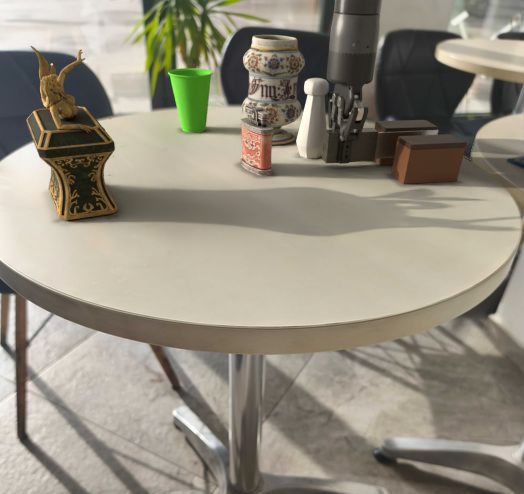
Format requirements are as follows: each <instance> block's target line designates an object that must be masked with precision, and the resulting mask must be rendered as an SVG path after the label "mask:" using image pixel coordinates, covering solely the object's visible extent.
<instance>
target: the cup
mask: <svg viewBox="0 0 524 494" xmlns="http://www.w3.org/2000/svg"><path fill="white" fill-rule="evenodd" d="M167 74H168V76H169V77H170V83H171V88H172V92H173V96H174V100H175V104H176V110H177V115H178V119H179V123H180V128H181V129H182V131H183V132H185V133H195V134H196V133H202V132H204V131H206V128H207V120H208V119H207V118H208V109H209V100H210V89H211V79H212V75H214V73H213V71H212V70H211V69H206V68H197V67H181V68H174V69H170V70H169V71H168V72H167Z"/></svg>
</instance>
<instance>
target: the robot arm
mask: <svg viewBox="0 0 524 494" xmlns="http://www.w3.org/2000/svg"><path fill="white" fill-rule="evenodd" d="M382 3H383V0H334V9H333V17H332V22H331V27H330V34H329V45H328V56H327V65H326V66H327V67H326V80H327V82H330V83H333V84H334V88H333V91H328V93H327V94H326V96H327V112H328V113H327V117H328V118H327V119H328V129H329V130H330V129H340V136H339V139H340V141H339V147H338V156H337V162H338V163H337V164H340V165H343V164H349V163H351V162H350V158H351V150H352V142H353V141H354V140H359V138H360V135H361V132H362V129H363V128H364V126H365V123H366V121H367V117H368V114H369V106H363V87H364V86H365V85H369V84H370V83H372V81H374V75H375V74H374V73H375V68H376V67H375V66H376V59H377V52H378V47H379V38H380V32H381V31H380V29H381V28H380V27H381V25H380V24H381V11H382V5H383V4H382Z"/></svg>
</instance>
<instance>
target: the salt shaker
mask: <svg viewBox="0 0 524 494" xmlns="http://www.w3.org/2000/svg"><path fill="white" fill-rule="evenodd" d="M329 85H330V84H329V81H328V80H327V79H324V78H321V77H311V78H308V79H306V80H305V81H304V86H303V91H304V94H306V95H307V96H306V100H305V105H304V107H303V108H304V109H303V113H302V117H301V121H300V125H299V127H298V129H299V130H298V132H297V136H296V140H295V141H296V147H297V150H298V153H299V156H300V157H301V158H302V157H303V158H305V159H318V158H322V153H323V141H324V130H327V115H326V100H325V99H326V98H325V96H327V95H328V92H329V89H330V86H329Z"/></svg>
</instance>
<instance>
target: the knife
mask: <svg viewBox="0 0 524 494" xmlns="http://www.w3.org/2000/svg"><path fill="white" fill-rule="evenodd" d="M374 128H375V127H363V129H362V132H361V135H360V138H359V140H354V141H353V142H352V150H351V158H350V162H349V163H361V162H375V160H374V159H381V158H394V156H395V151H396V145H397V140H398V136H417V135H439V129H437V130H415V131H392V132H378V131H377V130H376V129H374ZM339 136H340V129H332V128H331V129H330V128H329V129H326V130H324V141H323V153H322V156H321V160H322V161H323V162H324V163H325V164H339V163H338V162H337V156H338V147H339V141H340V139H339Z"/></svg>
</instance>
